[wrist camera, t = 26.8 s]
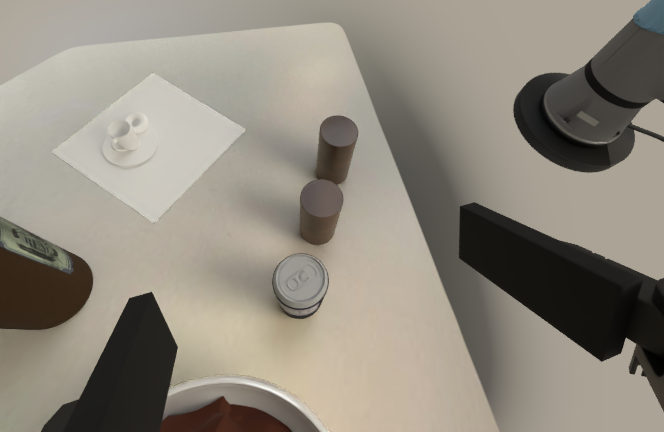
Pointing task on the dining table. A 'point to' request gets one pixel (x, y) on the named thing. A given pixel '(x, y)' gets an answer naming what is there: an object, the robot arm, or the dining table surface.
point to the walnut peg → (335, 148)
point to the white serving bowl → (236, 407)
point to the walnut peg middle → (319, 210)
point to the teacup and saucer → (150, 145)
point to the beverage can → (300, 285)
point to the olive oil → (38, 281)
